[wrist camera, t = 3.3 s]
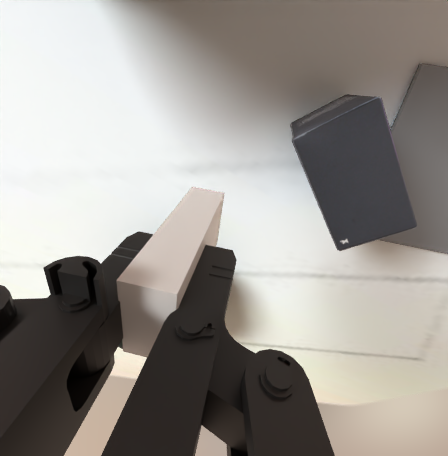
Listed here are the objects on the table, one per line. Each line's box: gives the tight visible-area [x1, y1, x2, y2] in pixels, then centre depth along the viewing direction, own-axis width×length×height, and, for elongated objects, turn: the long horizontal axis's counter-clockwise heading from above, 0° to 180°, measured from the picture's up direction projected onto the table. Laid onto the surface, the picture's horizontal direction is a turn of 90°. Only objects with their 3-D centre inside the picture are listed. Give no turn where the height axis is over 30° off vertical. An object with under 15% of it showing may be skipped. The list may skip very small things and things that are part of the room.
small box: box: [290, 95, 417, 251], centre depth 24 cm, size 11×6×10 cm, turn 29°
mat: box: [378, 64, 448, 254], centre depth 27 cm, size 14×18×1 cm
